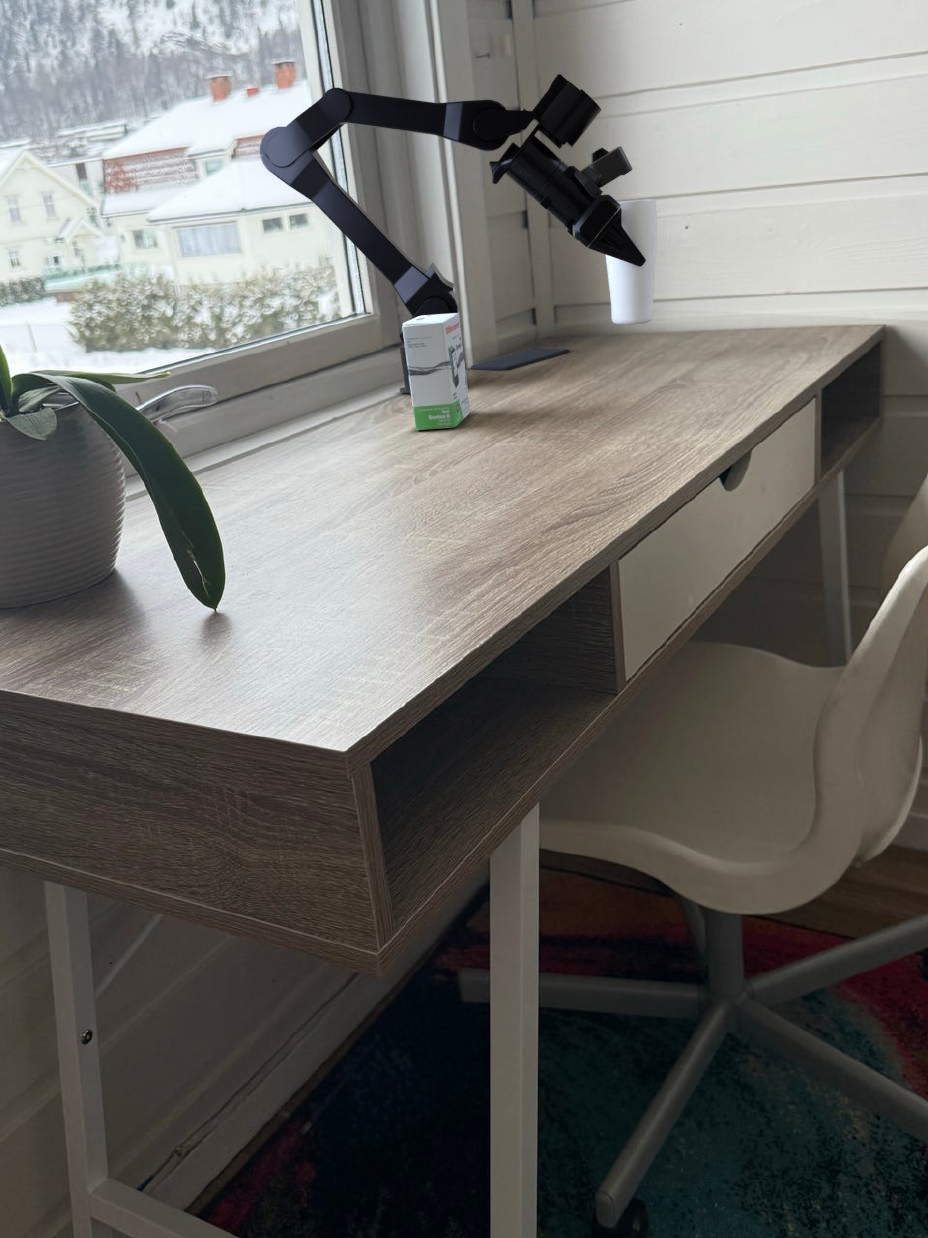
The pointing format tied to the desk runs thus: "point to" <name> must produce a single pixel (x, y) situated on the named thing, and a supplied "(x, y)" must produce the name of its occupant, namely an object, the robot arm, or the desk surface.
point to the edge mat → (519, 359)
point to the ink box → (436, 370)
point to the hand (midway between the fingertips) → (640, 261)
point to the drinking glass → (634, 266)
